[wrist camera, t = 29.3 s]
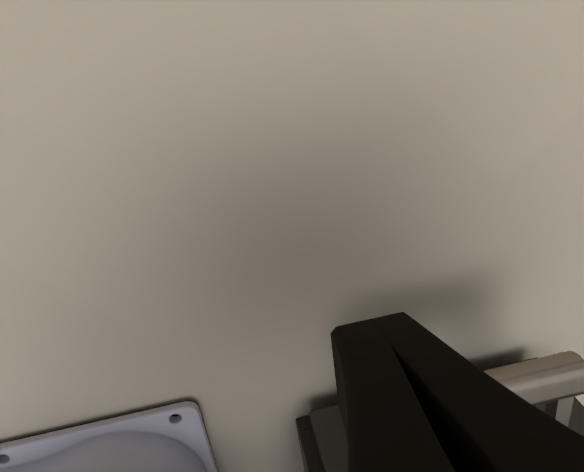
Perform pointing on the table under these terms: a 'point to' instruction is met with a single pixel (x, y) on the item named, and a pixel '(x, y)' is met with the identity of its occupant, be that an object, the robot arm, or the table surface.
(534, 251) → the table surface
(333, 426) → the drawer
